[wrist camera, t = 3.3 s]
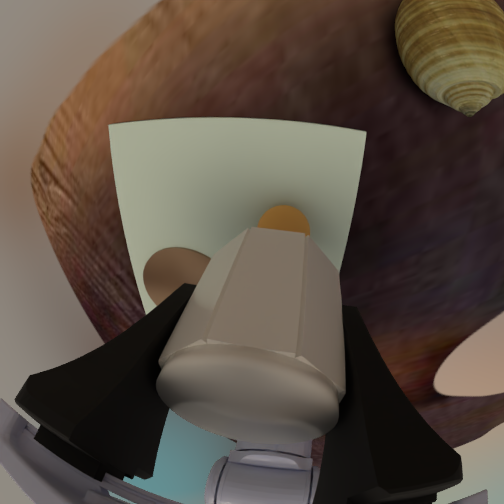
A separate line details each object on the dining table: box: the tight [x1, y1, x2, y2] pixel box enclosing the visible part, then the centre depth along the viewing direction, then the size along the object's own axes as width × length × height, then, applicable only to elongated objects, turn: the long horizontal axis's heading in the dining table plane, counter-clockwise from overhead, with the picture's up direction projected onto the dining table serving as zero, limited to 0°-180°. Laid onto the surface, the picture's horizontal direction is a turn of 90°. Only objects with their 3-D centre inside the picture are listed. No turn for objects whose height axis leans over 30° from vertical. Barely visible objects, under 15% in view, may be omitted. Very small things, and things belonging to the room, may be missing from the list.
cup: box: [156, 227, 346, 444], centre depth 9 cm, size 5×5×6 cm
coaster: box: [143, 247, 211, 306], centre depth 22 cm, size 8×8×1 cm
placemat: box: [109, 117, 366, 315], centre depth 20 cm, size 20×16×1 cm
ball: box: [257, 205, 310, 237], centre depth 16 cm, size 3×3×3 cm
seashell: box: [395, 0, 504, 117], centre depth 7 cm, size 10×7×8 cm
